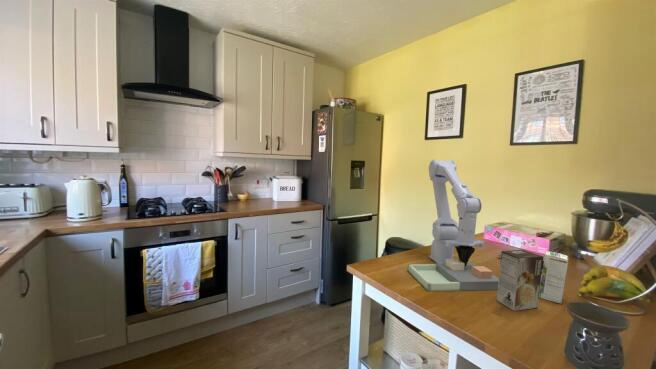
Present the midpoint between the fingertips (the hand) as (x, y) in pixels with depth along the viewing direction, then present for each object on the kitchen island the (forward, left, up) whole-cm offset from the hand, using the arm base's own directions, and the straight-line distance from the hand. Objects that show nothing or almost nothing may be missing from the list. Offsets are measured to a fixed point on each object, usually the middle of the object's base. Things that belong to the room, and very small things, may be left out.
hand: (462, 265), depth 103 cm
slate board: (+3, -1, -4) cm, 5 cm away
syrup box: (+17, +19, -4) cm, 26 cm away
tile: (0, -3, -1) cm, 4 cm away
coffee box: (+20, +4, -4) cm, 21 cm away
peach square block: (+7, +2, -1) cm, 7 cm away
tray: (+3, -14, -4) cm, 15 cm away
